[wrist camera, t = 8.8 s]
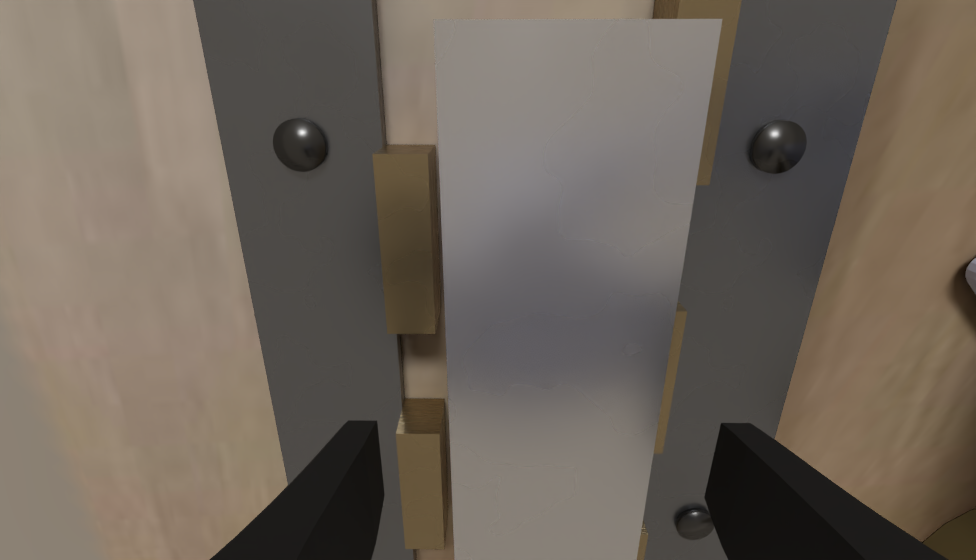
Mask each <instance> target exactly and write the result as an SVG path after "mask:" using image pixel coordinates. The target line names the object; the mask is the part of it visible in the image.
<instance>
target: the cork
mask: <svg viewBox="0 0 976 560" xmlns="http://www.w3.org/2000/svg"><path fill="white" fill-rule="evenodd" d="M923 544H924V545H926V546H928V547H929V548H931V549H932V550H934V551H936V552H937V553H939V554H940V555H942V556H944V557H945V558H947V559H948V560H976V509H974V510H971V511H969V512H967V513H965V514H963V515H961V516H960V517H958V518H956V519H954V520H952V521H950V522H948V523H946V524H944V525H943V526H942V527H941V528H940V529H938V530H937V531H936V532H935V533H934V534H932V535H931V536H930V537H929V538H928V539H926V540H925V541H924V542H923Z"/></svg>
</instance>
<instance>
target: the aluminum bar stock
mask: <svg viewBox="0 0 976 560" xmlns="http://www.w3.org/2000/svg"><path fill="white" fill-rule="evenodd" d="M433 21H434V46H435V72H436V98H437V123H438V149H439V175H440V200H441V226H442V251H443V277H444V303H445V328H446V354H447V380H448V405H449V431H450V456H451V482H452V508H453V533H454V559H455V560H637V554H638V547H639V541H640V535H641V529H642V522H643V516H644V510H645V503H646V497H647V491H648V485H649V478H650V472H651V466H652V459H653V453H654V447H655V441H656V434H657V428H658V422H659V415H660V409H661V403H662V396H663V390H664V384H665V378H666V371H667V365H668V359H669V352H670V346H671V340H672V334H673V327H674V321H675V315H676V308H677V302H678V296H679V290H680V283H681V277H682V271H683V264H684V258H685V252H686V245H687V239H688V233H689V227H690V220H691V214H692V208H693V201H694V195H695V189H696V183H697V176H698V170H699V164H700V157H701V151H702V145H703V139H704V132H705V126H706V120H707V113H708V107H709V101H710V95H711V88H712V82H713V76H714V69H715V63H716V57H717V50H718V44H719V38H720V32H721V25H722V19H433Z"/></svg>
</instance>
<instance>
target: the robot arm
mask: <svg viewBox="0 0 976 560" xmlns="http://www.w3.org/2000/svg"><path fill="white" fill-rule="evenodd" d="M965 277H966V280H967V282H968V284H969V285H970V287H971V288H972V290H973V291H974V292H975V294H976V258H975V259H974V260H972V261H971V262H970V264H969V265H968V267H967V269H966V274H965ZM384 496H385V494H384V484H383V474H382V464H381V454H380V444H379V434H378V424H377V421H365V420H348V421H347V422H346V423H345V424H344V425H343V426H342V427H341V428H340V429H339V430H338V431H337V433H336V434H335V435H334V436H333V437H332V438H331V439H330V440H329V442H328V443H327V444H326V445H325V446H324V447H323V448H322V449H321V451H320V452H319V453H318V454H317V455H316V456H315V457H314V458H313V459H312V460H311V462H310V463H309V464H308V465H307V466H306V467H305V468H304V469H303V470H302V471H301V472H300V473H299V474H298V476H297V477H296V478H295V479H294V480H293V481H292V482H291V483H290V484H289V485H288V486H287V487H286V488H285V489H284V490H283V491H282V492H281V493H280V494H279V495H278V496H277V497H276V498H275V499H274V500H273V501H272V502H271V503H270V504H269V505H268V506H267V507H266V508H265V509H264V510H263V511H262V512H261V513H260V514H259V515H258V516H257V517H256V518H255V519H254V520H253V521H252V522H251V523H250V524H248V525H247V526H246V527H245V528H244V529H243V530H242V531H241V532H240V533H239V534H238V535H237V536H236V537H235V538H234V539H233V540H231V541H230V542H229V543H228V544H227V545H226V546H225V547H224V548H222V549H221V550H220V551H219V552H218V553H217V554H216V555H214V556H213V557H212V558H211V559H210V560H371V559H372V556H373V552H374V549H375V545H376V540H377V535H378V530H379V524H380V519H381V513H382V507H383V502H384ZM704 498H705V501H706V504H707V507H708V510H709V513H710V516H711V519H712V521H713V524H714V527H715V530H716V532H717V535H718V538H719V540H720V543H721V546H722V548H723V550H724V552H725V554H726V556H727V558H728V560H948V559H947V558H945V557H944V556H942V555H940V554H939V553H937V552H936V551H934V550H932V549H931V548H929V547H928V546H926V545H924V544H923V543H921V542H920V541H918V540H917V539H915V538H914V537H912V536H911V535H909V534H908V533H906V532H905V531H903V530H902V529H900V528H899V527H897V526H896V525H894V524H893V523H891V522H889V521H888V520H886V519H885V518H883V517H882V516H881V515H879V514H878V513H876V512H875V511H873V510H872V509H870V508H869V507H867V506H866V505H865V504H863V503H862V502H860V501H859V500H857V499H856V498H855V497H853V496H852V495H850V494H849V493H847V492H846V491H845V490H843V489H842V488H840V487H839V486H838V485H836V484H835V483H833V482H832V481H831V480H829V479H828V478H827V477H825V476H824V475H822V474H821V473H820V472H818V471H817V470H816V469H814V468H813V467H811V466H810V465H809V464H807V463H806V462H805V461H803V460H802V459H801V458H799V457H798V456H796V455H795V454H794V453H792V452H791V451H790V450H788V449H787V448H786V447H784V446H783V445H781V444H780V443H779V442H777V441H776V440H774V439H773V438H772V437H770V436H769V435H767V434H766V433H765V432H763V431H762V430H760V429H759V428H757V427H756V426H754V425H753V424H751V423H721V425H720V430H719V434H718V438H717V443H716V447H715V452H714V456H713V461H712V465H711V469H710V474H709V478H708V483H707V487H706V492H705V496H704Z"/></svg>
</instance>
